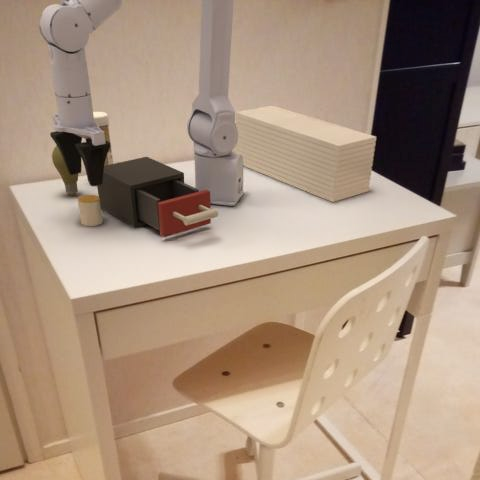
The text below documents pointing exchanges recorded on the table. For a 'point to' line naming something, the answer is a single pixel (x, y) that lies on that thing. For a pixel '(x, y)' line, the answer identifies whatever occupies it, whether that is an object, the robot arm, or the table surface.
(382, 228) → the table surface
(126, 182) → the black drawer box
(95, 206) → the beige cylinder
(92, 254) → the table surface
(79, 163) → the robot arm
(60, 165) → the light bulb
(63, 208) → the table surface
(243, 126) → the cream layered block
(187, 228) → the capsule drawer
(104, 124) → the spice jar
